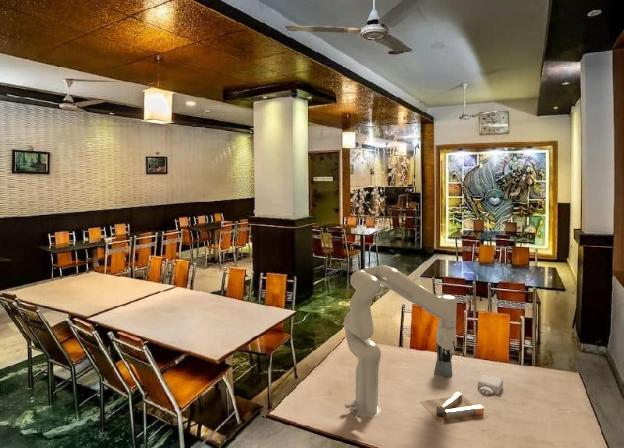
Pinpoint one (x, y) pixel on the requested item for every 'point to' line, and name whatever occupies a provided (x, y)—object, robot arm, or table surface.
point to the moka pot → (443, 364)
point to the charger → (490, 384)
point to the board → (433, 404)
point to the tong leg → (449, 404)
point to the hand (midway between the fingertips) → (446, 361)
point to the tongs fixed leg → (464, 412)
